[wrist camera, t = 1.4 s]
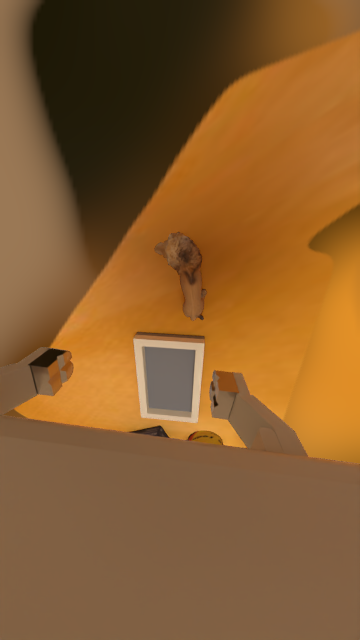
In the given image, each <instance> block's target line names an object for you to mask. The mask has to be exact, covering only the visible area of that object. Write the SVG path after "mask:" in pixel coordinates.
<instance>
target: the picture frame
mask: <svg viewBox="0 0 360 640" xmlns="http://www.w3.org/2000/svg"><path fill="white" fill-rule="evenodd" d="M133 341H134V351H135V361H136V371H137V381H138V390H139V400H140V410H141V417H143V418H153V419H163V420H172V421H182V422H192V423H198V413H199V402H200V390H201V379H202V368H203V356H204V345H205V341H204V336H189V335H173V334H158V333H142V332H137V334H136V335H135V337H134V338H133Z"/></svg>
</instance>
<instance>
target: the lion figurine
mask: <svg viewBox="0 0 360 640" xmlns="http://www.w3.org/2000/svg"><path fill="white" fill-rule="evenodd" d="M155 252H156V253H158V254H160V255H163V256H164V258H166V259H167V261H168V265H171V266H172V267H173V268H174V269H175V270H177V272H178V274H179V275H180V282H181V287H182V290H183V293H184V296H185V302H184V304H183V312H184V314H185V316H186V317H190V318H191V320H192V321H194V320H195V319H196V318H197V317H198V318H200V319H201V320H203V319H204V318H203V316H202V315H200V314H201V313H202V311H203V309H204V298H205V296H206V294H207V291H206V290H205V289H202V290H201V287H202V277H201V272H200V267H201V262H202V256H201V254H200V250H199V248H198V247H197V246H196V245H195V243H193V241H192V240H190V238H189V237H186V236H185V235H183V234H182V233H179V232H178V233H170V234H169V237H168V240H167V241H165V242H164V243H158V244H157V245H156V246H155Z"/></svg>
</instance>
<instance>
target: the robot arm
mask: <svg viewBox="0 0 360 640" xmlns="http://www.w3.org/2000/svg"><path fill="white" fill-rule="evenodd" d="M71 358H72V354H71V352H70V351H66V350H59V349H53V348H52V349H51V348H45V347H42V348H39V349H38V350H36V351H35V352H33V353H32V354H30V355H29V356H28V357H26V358H25V359H23V360H22V361H20V362H19V363H17V364H11V365H8V366H4V367H2V368H0V640H360V464H357V463H349V462H343V461H335V460H328V459H321V458H313V457H308V455H307V453H306V451H305V450H304V448H303V446H302V444H301V442H300V440H299V439H298V437H297V435H296V433H295V431H294V430H292V429H291V428H290V427H289V426H288V425H287V424H286V423H285V422H283V421H282V420H281V419H280V418H279V417H278V416H276V415H275V414H274V413H273V412H272V411H271V410H269V409H268V408H267V407H266V406H265V405H264V404H263V403H261V402H260V401H259V400H258V399H257V398H256V397H254V396H253V395H250V393H249V390H248V388H247V385H246V382H245V380H244V377H243V375H242V374H241V373H235V372H224V371H216V370H214V372H213V381H212V382H211V385H210V400H211V401H212V403H211V412H212V417H214V418H220V419H226V420H228V421H229V422H230V424H231V425H232V427H233V428H234V429H235V431H236V432H237V434H238V435H239V436H240V438H241V439H242V441H243V442H244V443H245V445H246V446H247V448H248V449H247V448H240V447H232V446H225V445H218V444H210V443H203V442H195V441H188V440H180V439H173V438H166V437H159V436H151V435H144V434H137V433H129V432H122V431H115V430H107V429H100V428H93V427H85V426H78V425H70V424H63V423H56V422H48V421H41V420H34V419H26V418H19V417H11V416H4V415H3V414H5V413H6V412H8V411H10V410H12V409H13V408H15V407H17V406H19V405H21V404H22V403H24V402H26V401H28V400H29V399H31V398H33V397H35V396H36V395H37V394H40V395H50V396H54V395H55V394H56V393H57V392H58V391H59V390H60V388H61V387H62V383H64V382H66V381H68V379H69V378H70V377H71V375H72V373H73V363H72V362H71V361H70V360H71Z"/></svg>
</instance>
